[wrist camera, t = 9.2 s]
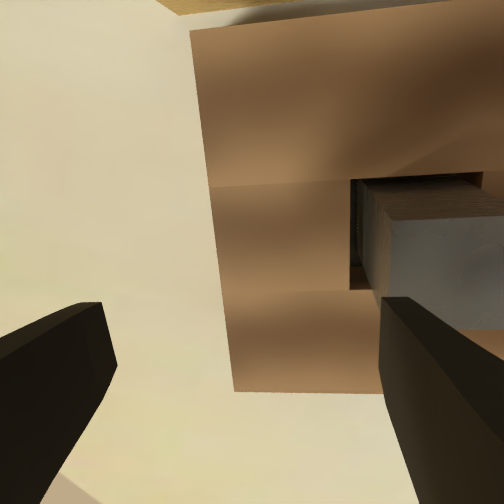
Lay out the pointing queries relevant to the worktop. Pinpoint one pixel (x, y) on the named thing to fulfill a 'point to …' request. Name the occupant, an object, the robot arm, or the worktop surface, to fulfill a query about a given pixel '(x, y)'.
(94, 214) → the worktop surface
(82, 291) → the worktop surface
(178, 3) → the block
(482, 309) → the square bit
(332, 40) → the plate
